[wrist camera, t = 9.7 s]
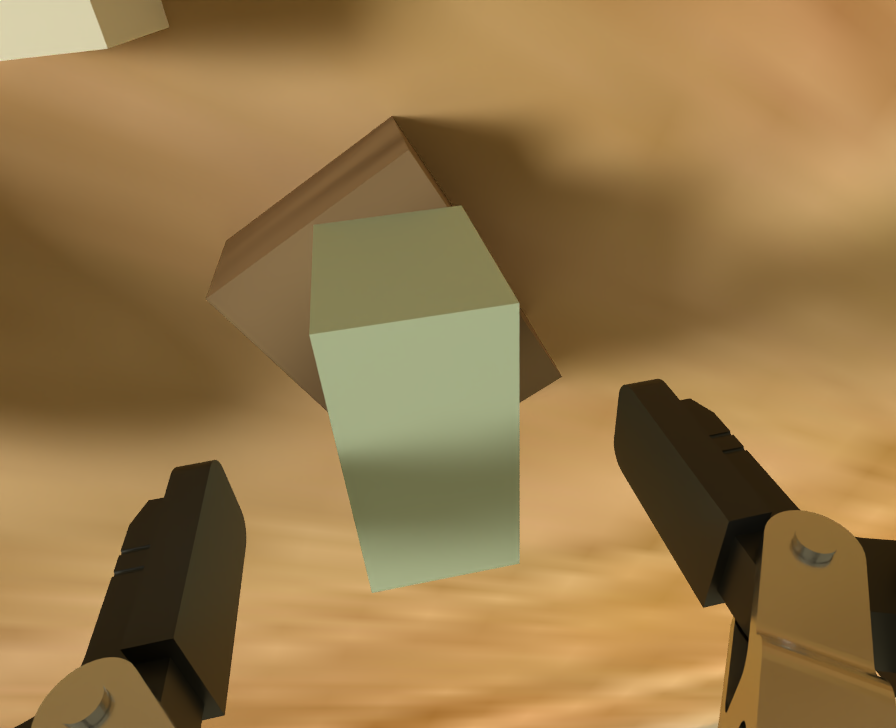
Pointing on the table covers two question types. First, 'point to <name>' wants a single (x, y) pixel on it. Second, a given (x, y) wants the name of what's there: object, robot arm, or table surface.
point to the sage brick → (420, 391)
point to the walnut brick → (291, 244)
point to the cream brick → (74, 25)
